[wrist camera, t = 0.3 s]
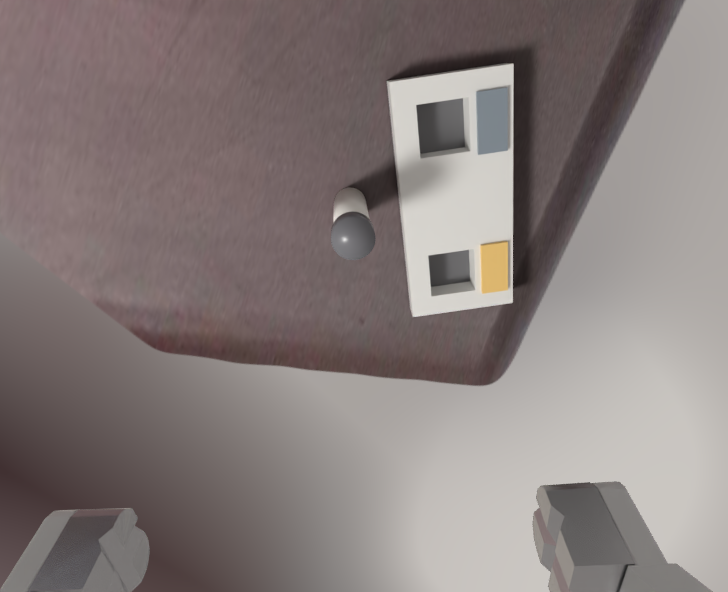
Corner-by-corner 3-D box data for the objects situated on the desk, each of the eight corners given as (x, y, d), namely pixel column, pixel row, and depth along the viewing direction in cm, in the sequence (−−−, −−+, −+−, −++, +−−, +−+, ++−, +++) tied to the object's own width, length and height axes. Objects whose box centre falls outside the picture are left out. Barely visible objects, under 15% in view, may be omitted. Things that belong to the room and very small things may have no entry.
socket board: (386, 80, 49) (389, 82, 46) (503, 63, 49) (514, 63, 46) (409, 305, 61) (413, 318, 58) (504, 291, 61) (513, 304, 58)
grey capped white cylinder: (329, 188, 54) (327, 221, 43) (365, 183, 54) (372, 214, 43) (335, 222, 56) (334, 262, 45) (369, 217, 56) (377, 256, 45)
